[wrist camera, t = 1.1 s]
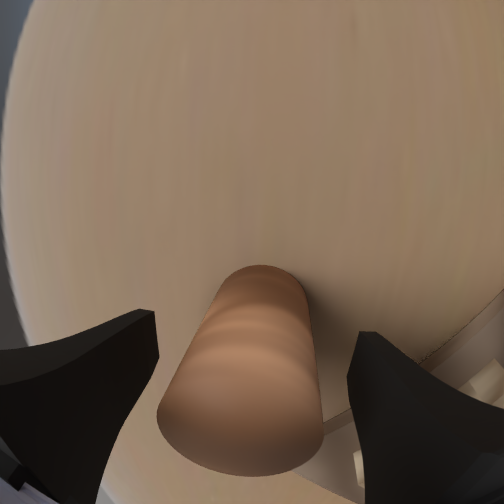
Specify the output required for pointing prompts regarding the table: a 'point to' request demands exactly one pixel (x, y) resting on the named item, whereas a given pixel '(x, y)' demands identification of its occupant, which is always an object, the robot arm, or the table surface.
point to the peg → (248, 380)
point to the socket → (439, 365)
